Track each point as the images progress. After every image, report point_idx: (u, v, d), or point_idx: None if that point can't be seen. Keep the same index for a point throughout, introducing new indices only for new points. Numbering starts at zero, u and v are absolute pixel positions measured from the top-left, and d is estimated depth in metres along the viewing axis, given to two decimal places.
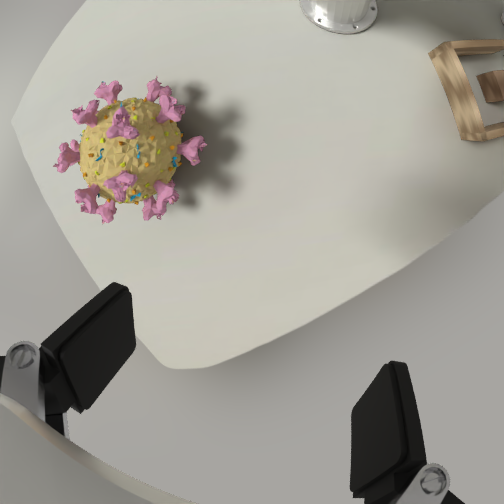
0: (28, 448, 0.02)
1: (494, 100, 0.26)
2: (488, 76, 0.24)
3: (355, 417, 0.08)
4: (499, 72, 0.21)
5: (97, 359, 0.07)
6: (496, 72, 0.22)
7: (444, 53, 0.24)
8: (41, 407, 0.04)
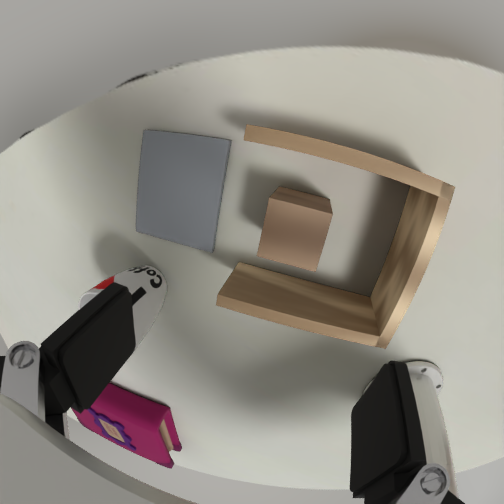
0: (29, 448, 0.02)
1: None
2: None
3: (355, 417, 0.08)
4: (299, 263, 0.23)
5: (97, 359, 0.07)
6: (308, 266, 0.22)
7: None
8: (41, 407, 0.04)
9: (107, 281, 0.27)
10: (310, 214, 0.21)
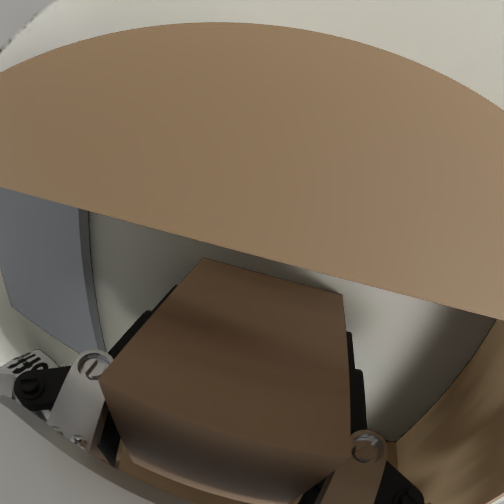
0: (28, 448, 0.02)
1: None
2: None
3: None
4: (237, 498, 0.06)
5: None
6: (261, 503, 0.06)
7: None
8: (100, 425, 0.05)
9: None
10: (259, 453, 0.04)
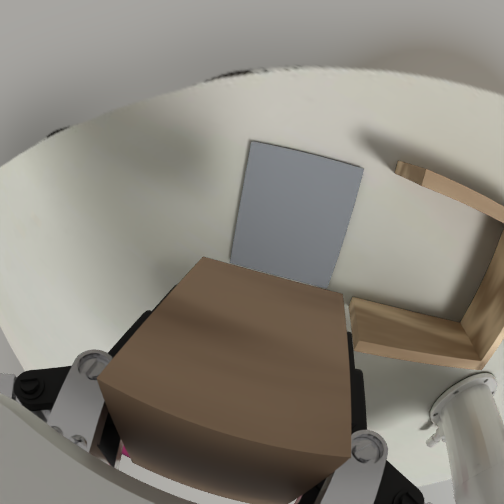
0: (28, 448, 0.02)
1: None
2: None
3: None
4: (237, 498, 0.06)
5: None
6: None
7: None
8: (100, 425, 0.05)
9: None
10: (259, 452, 0.04)
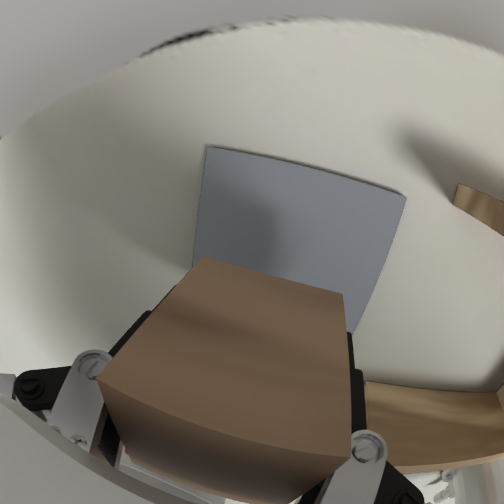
0: (28, 448, 0.02)
1: None
2: None
3: None
4: (237, 498, 0.06)
5: None
6: None
7: None
8: (100, 425, 0.05)
9: None
10: (259, 453, 0.04)
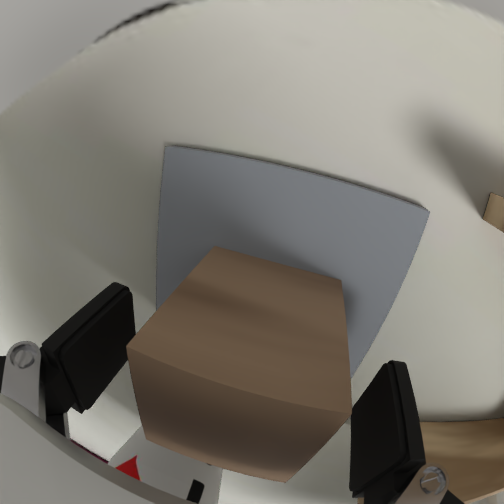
0: (28, 448, 0.02)
1: None
2: None
3: (355, 417, 0.08)
4: (245, 471, 0.07)
5: (98, 359, 0.07)
6: (268, 477, 0.07)
7: None
8: (42, 407, 0.04)
9: None
10: (271, 410, 0.05)
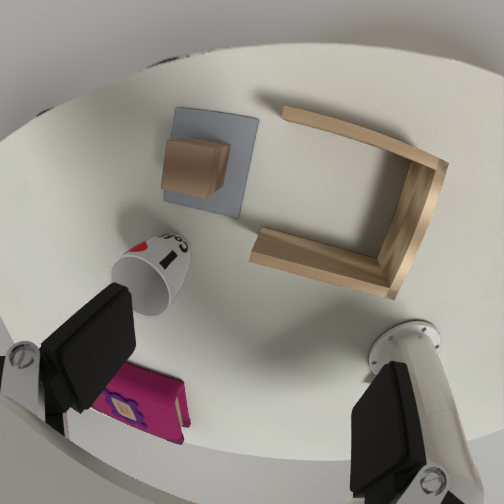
0: (28, 448, 0.02)
1: (223, 148, 0.27)
2: (213, 187, 0.28)
3: (355, 417, 0.08)
4: (192, 192, 0.27)
5: (97, 359, 0.07)
6: (199, 194, 0.27)
7: None
8: (41, 407, 0.04)
9: (140, 245, 0.30)
10: (197, 150, 0.25)
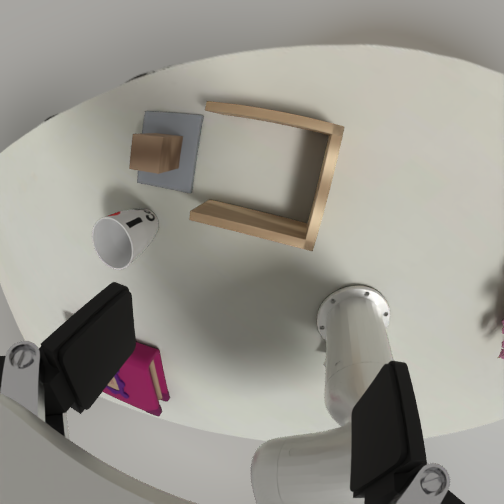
0: (28, 448, 0.02)
1: (173, 138, 0.35)
2: (166, 167, 0.36)
3: (355, 417, 0.08)
4: (149, 169, 0.35)
5: (97, 359, 0.07)
6: (154, 170, 0.35)
7: None
8: (41, 407, 0.04)
9: (115, 213, 0.38)
10: (152, 139, 0.33)
